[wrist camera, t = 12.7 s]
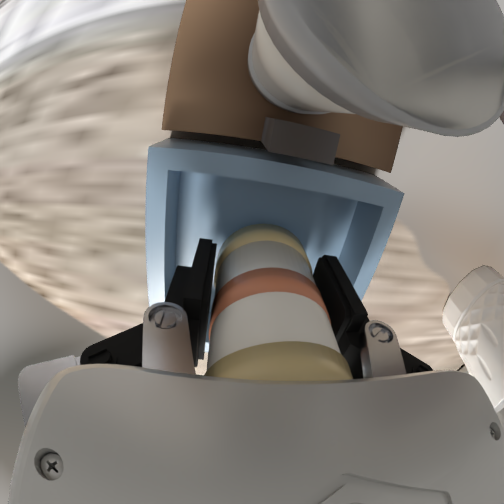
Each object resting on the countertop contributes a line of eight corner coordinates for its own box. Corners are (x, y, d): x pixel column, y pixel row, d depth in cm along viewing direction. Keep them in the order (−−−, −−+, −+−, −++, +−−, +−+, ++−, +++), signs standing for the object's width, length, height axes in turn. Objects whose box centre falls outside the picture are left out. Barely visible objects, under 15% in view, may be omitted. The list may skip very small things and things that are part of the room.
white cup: (507, 264, 16) (569, 332, 7) (468, 329, 20) (513, 402, 11) (466, 251, 15) (550, 343, 6) (420, 332, 19) (470, 428, 10)
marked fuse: (316, 231, 12) (392, 384, 5) (293, 303, 14) (325, 449, 7) (222, 217, 11) (199, 386, 4) (212, 294, 13) (197, 450, 6)
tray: (373, 174, 12) (404, 193, 10) (319, 324, 17) (330, 358, 14) (169, 137, 11) (148, 146, 8) (164, 308, 16) (153, 344, 13)
